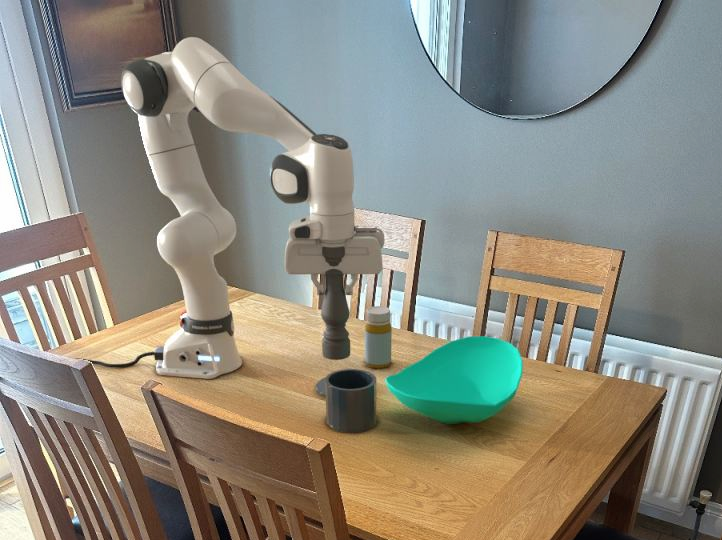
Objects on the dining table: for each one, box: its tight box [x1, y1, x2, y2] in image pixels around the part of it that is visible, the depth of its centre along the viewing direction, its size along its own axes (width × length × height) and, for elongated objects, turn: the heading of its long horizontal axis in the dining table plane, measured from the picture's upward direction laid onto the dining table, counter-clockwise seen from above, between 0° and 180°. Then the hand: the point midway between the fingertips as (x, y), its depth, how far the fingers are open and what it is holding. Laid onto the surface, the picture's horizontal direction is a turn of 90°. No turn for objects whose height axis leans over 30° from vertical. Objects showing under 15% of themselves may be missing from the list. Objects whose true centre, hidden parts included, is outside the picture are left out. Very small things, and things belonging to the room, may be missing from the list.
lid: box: [315, 369, 339, 397], centre depth 184 cm, size 13×13×5 cm
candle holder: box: [320, 246, 351, 361], centre depth 155 cm, size 6×6×25 cm
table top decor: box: [384, 335, 524, 425], centre depth 170 cm, size 40×28×13 cm
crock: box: [324, 368, 377, 434], centre depth 168 cm, size 12×12×11 cm
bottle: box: [364, 305, 393, 369], centre depth 194 cm, size 7×7×15 cm
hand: (334, 294), depth 154 cm, fingers closed on candle holder, 5 cm apart
